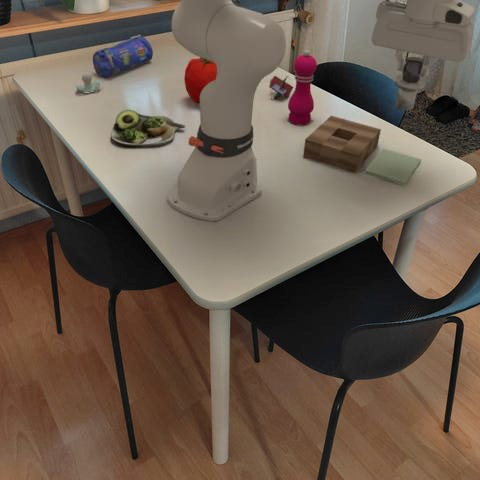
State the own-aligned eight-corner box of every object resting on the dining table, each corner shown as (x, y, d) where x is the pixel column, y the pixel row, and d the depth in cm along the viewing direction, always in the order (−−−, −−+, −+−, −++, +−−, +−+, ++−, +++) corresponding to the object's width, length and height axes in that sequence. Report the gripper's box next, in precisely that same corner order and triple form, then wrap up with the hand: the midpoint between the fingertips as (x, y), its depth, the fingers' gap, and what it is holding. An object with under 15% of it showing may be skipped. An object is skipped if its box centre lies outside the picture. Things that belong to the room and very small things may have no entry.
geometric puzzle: (300, 89, 155) (288, 66, 152) (293, 97, 150) (280, 74, 148) (282, 99, 160) (269, 77, 157) (274, 107, 155) (261, 84, 152)
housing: (354, 173, 122) (358, 155, 119) (303, 156, 128) (305, 139, 125) (377, 146, 133) (381, 129, 130) (328, 132, 138) (331, 115, 135)
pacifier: (73, 90, 156) (79, 97, 152) (69, 70, 152) (75, 76, 148) (96, 85, 159) (103, 92, 155) (93, 66, 155) (99, 72, 151)
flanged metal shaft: (413, 115, 112) (426, 67, 105) (386, 108, 115) (396, 61, 108) (421, 104, 116) (434, 58, 109) (394, 98, 119) (405, 52, 112)
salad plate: (186, 118, 143) (186, 103, 140) (183, 150, 129) (182, 134, 126) (118, 118, 142) (116, 102, 139) (107, 149, 129) (105, 133, 126)
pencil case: (138, 57, 179) (135, 29, 173) (156, 62, 175) (154, 34, 169) (92, 76, 165) (87, 46, 159) (111, 82, 161) (107, 52, 155)
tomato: (195, 90, 158) (193, 47, 149) (232, 97, 155) (233, 53, 146) (178, 106, 148) (175, 61, 140) (217, 114, 145) (217, 68, 137)
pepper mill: (310, 127, 140) (319, 55, 128) (285, 124, 141) (291, 53, 129) (313, 116, 146) (322, 46, 133) (288, 113, 147) (295, 43, 134)
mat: (404, 185, 119) (405, 182, 118) (364, 173, 122) (365, 170, 122) (420, 162, 127) (421, 159, 127) (382, 150, 131) (383, 148, 131)
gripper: (374, 1, 103) (362, 67, 112) (476, 18, 95) (455, 88, 104) (384, -6, 107) (372, 58, 116) (483, 10, 99) (462, 78, 108)
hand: (412, 72), depth 110 cm, fingers closed on flanged metal shaft, 4 cm apart
